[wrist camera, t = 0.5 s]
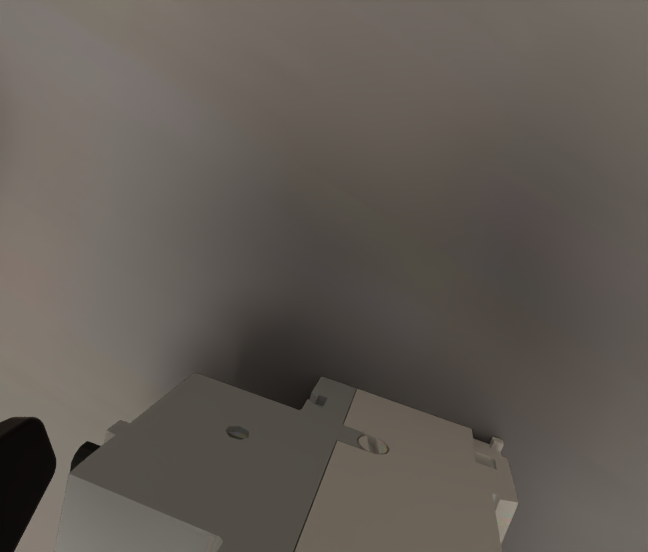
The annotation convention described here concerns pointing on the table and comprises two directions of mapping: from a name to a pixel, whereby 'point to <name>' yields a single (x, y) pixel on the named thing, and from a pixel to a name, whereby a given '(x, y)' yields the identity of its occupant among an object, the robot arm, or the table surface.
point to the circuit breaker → (286, 478)
